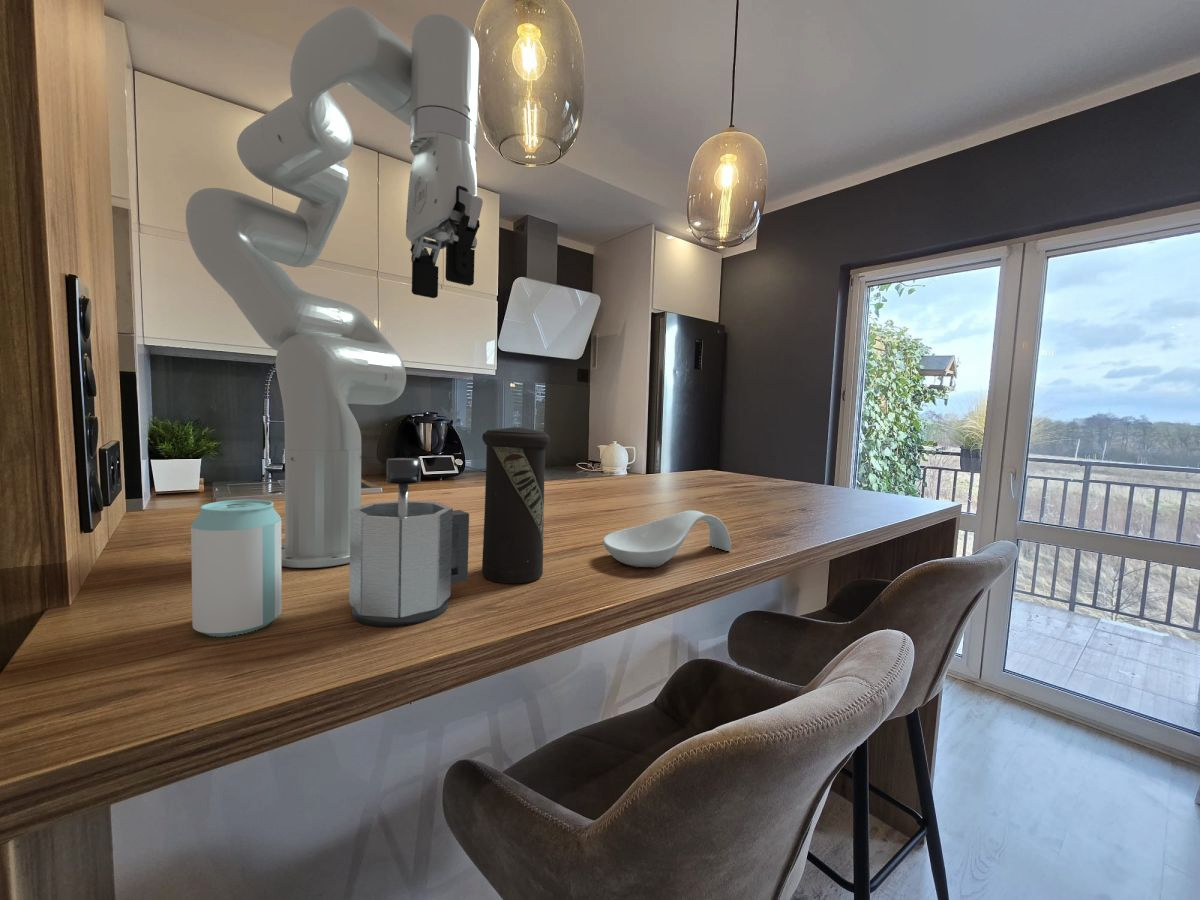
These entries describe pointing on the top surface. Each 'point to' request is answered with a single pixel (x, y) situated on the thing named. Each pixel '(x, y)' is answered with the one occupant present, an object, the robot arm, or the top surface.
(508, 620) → the top surface
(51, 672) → the top surface
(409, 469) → the plunger
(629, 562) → the spoon rest
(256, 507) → the can
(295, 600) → the top surface
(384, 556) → the octagonal grey mug
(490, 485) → the container
